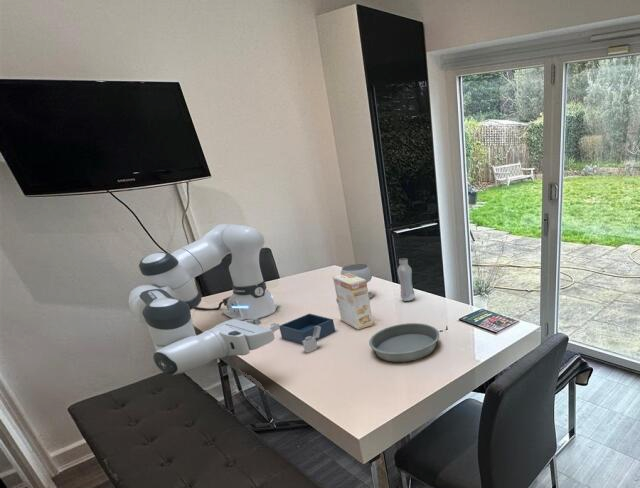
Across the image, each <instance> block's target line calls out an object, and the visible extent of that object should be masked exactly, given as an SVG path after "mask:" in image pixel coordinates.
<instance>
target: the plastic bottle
mask: <svg viewBox="0 0 640 488" xmlns="http://www.w3.org/2000/svg"><path fill="white" fill-rule="evenodd" d="M398 264H399V266H398V267H397V270H396V272H397V275H398V279H399V284H400V298H401V300H402V301H403V302H410V301H413V300H414V299H415V298H416V297H415V296H416V294H415V290H414V287H413V279H412V278H413V277H412V276H413V275H412V274H413V271H412V270H413V269H412V267H411V266H410V265H409V261H408V258H407V257H406V258H405V257H401V258H399V259H398Z"/></svg>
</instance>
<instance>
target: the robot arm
mask: <svg viewBox="0 0 640 488" xmlns="http://www.w3.org/2000/svg"><path fill="white" fill-rule="evenodd" d="M264 244H265V237H264V235H263V234H262V232H261V231H259V230H258V229H256V228H254V227H252V226H249V225H244V224H243V225H241V224H233V223H219V224H216V225H213V226H211V227H210V228H209V230H208V231H207V233H205V234H204V235H203V236H201V237H200V238H198V239H197V240H195V241H192V242H190V243H189V244H186V245H184V246H182V247H180V248H178V249H176V250H174V251H172V252H170V253H169V252H166V251H165V252H164V251H161V252H153V253H151V254H148V255H146V256H145V257H143V258H142V259H141V260H140V261H139V263H138V268H139V271H140V273H141V275H143V276H144V278H145V279H146V281H147V283H148V284H142V285H139V286H136V287H135V288H133V289H132V290H131V291H130V293H129V295H128V308H129V310H130V312H131V314H132V316H133V318H134V319H135V321H136V322H137V323H139V324H140V325H141V326H144V327H146V328H148V331H149V335H150V337H151V340H152V344H153V347H154V349H155V352H154V353H153V357H152V359H153V362H154V364H155V366H156V367H157V368H158V369H159V371H161V372H163V373H164V374H166V375H169V376H175V375H180V374H181V375H182V374H184V373H187V372H190V371H193V370H196V369H198V368H201V367H203V366H205V365H207V364H209V363H210V362H212V361H214V360H220V359H223V358H225V357H230V356H231V357H232V356H247V355H249V354H250V351H254V350H258V349H260V348H263V347H264V346H266V345H269V344H271V343H272V342H274V340H275V334H274V333H275V332H276V331H278V330H280V324H279V323H276V322H274V323H271V324H270V326H268V327H265V326H262V325H261V324H262V321H261V318H264V317H267V316H269V315H272V314H274V313H276V309H277V308H278V307H279V306H278V304H277V303H275V302H274V299H273V298H274V296H273V295H272V294H271V293H272V292H271V291H270V290H269V289H267V283H266V281H265V280H264V278H263V274H262V270H261V266H260V265H261V264H260V253H261V250H262V249H263V247H264ZM229 254H231V263H230V264H229V266H228V271H229V274H230V278H231V281H232V284H231V285H230V286H231V288H232V294H231V295H230V296H227V297H225V298H223V299H222V301H220V302H219V303H218V307H213V308H208V307H199V305H200V303H201V302H202V295H201V292H200V290H198V289H197V287H196V286H197V285H195V283H194V280H193V279H194V278H197V277H199V276H200V275H202V274H204V273H206V272H208V271H210V270H212V269H214V268H215V267H217V266H219V265H220V264H221V263H222V261H223V259H224V258H225V257H226V256H227V255H229ZM222 305H224V307H227V308H226V309H225V310H223V315H226V316H227V317H229V318H230V319H228V320H225V321H223V322H221V323H218V324H216V325H215V326H213V327H212V328H209V329H207V330H204V331H202V332H201V333H200V334H197V333H196V330H195V326H194V322H193V319H192V318H193V317H192V312H191V310H194V309H196V310H199V311H217V310H221V308H222Z"/></svg>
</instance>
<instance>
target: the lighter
mask: <svg viewBox="0 0 640 488" xmlns="http://www.w3.org/2000/svg"><path fill="white" fill-rule="evenodd" d="M320 330H321V327H320V326H315V328H314V332H313V337H312V336H308V337H306V338H305V340H304V341H302V342H303V344H302V345H303V350H304V352H305V353H306V354H308V353H311V352H313V351H315V350H317V349H318V348H319V347H318V344H317V340H316V339H315V338H319V335H320Z"/></svg>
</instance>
